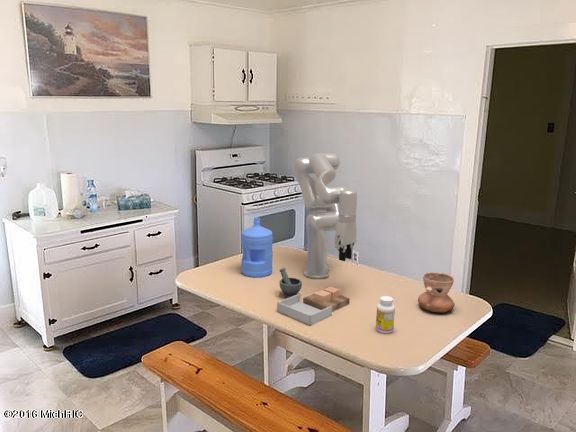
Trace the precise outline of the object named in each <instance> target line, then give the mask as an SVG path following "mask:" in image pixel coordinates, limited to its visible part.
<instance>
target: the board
mask: <svg viewBox="0 0 576 432" xmlns="http://www.w3.org/2000/svg"><path fill="white" fill-rule="evenodd" d="M350 300H351V299H350V298H349V297H347V296H344V295H341V294H340V296H339V297H337V298H334V299H331V300H330V301H327V302H325V303H321V302H319V301H316V300H314V293H312V294H310V295H308V296H305V297H303V298H302V303H304V304H307V305H309V306H312V307H315V308H317V309H320V310H323V309H325V308H327V307H329V306H332V313H333V312H335V311H337V310H339V309H342V308H343V307H346V306H348V305H350Z"/></svg>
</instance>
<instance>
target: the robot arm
mask: <svg viewBox="0 0 576 432" xmlns="http://www.w3.org/2000/svg"><path fill="white" fill-rule="evenodd" d="M340 163H341V162H340V158H339V156H338V154H337V153H335V152H331V151H329V152H315V153H313V154H311V155H310V156H301V157H299V158H297V159H296V160H294V164H293V171H294V172H293V174H294V177H295V180H296V181H297V183H298V186H299V187H300V190H301V194H302V198H303V199H302V200H303V203H304V206H305V208H306V211H308V212H311V213H310V214H308V215H307V217H306V220H305V224H306V230H307V257H306V258H307V259H306V262H307V263H306V269H305V270H304V271H303V275H304V276H305V277H307V278H309V279H313V280H315V279H318V280H321V279H325V278H328V277H329V276H330V272H329V269H330V268H332V267H333V265H332V263H329V264H327V261H328V260H327V259H328V258H327V257H328V240H327V237H326V235H324V233H325V232H334V231H335V232H334V240H333V241H334V244H335V245H334V248H335V249H337V252H338V260H339V261H341V262H346V259H347V260H348V259H349V260H352V258H353V257H352V255H353V254H352V253H353V249H354V246H355V244H356V242H357V222H356V221H357V207H358V206H357V203H358V202H357V200H358V194H357V190H354V189H352V188H350V187H349V186H347V185H342V186H341V185H339V186H326V185H329V184H330V183H332V182H334V180H335V178H336V176H337V172H336V170H337V169H338V168H339V167H340ZM311 175H315V176H316V178H317V179H316V180H315V179H314V178H313V177H312V176H311Z"/></svg>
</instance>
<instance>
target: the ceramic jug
mask: <svg viewBox="0 0 576 432" xmlns="http://www.w3.org/2000/svg"><path fill="white" fill-rule="evenodd" d="M422 280H423V281H422V282H423V284H424V288H425V291H424V292H423V293H421V294H419V296H418V297H417V302H418V303H417V304H419V306H420V307H421V308H422V309H424V310H426V311H429V312H432V313H446V312H450V311H451V310H452V309H453V308H454V305H455V303H454V302H455V301H454V300H453V298H451V296H450V295H448V293H449V292H450V290H451V288H452V287H453V285H454V282H455V278H454V277H453V276H452V275H450V274H448V273H446V272H445V273H444V272H440V271H429V272H425V273H423V275H422Z"/></svg>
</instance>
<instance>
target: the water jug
mask: <svg viewBox="0 0 576 432" xmlns="http://www.w3.org/2000/svg"><path fill="white" fill-rule="evenodd" d="M240 233H241V234H240V244H241V247H242V257H241V260H240V261H241V267H240V272H241V273H242V275H244V276H247V277H252V278H262V277H268V276H270V275H271V274H272V273H273V255H274V254H273V240H274V236H273V231H272V230H270V229H269V228H265V227H264V226H261V217H257V216H256V217H253V225H252V226H250V227H248V228H246V229H244V230H241V232H240Z"/></svg>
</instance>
